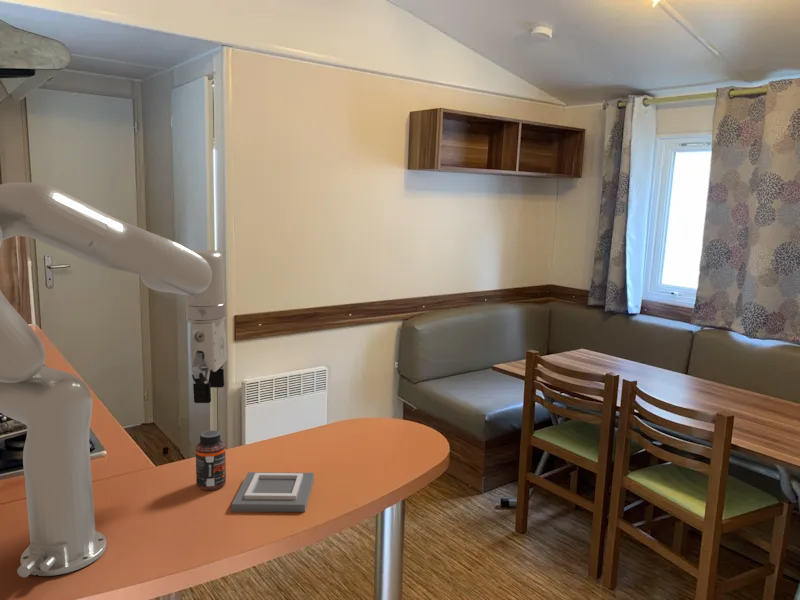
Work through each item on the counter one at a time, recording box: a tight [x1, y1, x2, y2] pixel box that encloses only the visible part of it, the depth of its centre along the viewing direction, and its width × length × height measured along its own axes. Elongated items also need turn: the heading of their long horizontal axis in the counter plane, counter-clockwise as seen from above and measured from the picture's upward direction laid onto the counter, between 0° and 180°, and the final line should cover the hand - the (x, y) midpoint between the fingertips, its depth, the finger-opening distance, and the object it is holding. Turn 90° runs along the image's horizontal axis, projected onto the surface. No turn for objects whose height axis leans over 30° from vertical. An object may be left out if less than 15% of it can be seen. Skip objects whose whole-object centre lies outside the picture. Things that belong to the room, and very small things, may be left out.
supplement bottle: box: [195, 430, 227, 491], centre depth 128 cm, size 6×6×11 cm
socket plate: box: [231, 471, 315, 513], centre depth 125 cm, size 14×14×2 cm
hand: (209, 394), depth 127 cm, fingers open, 9 cm apart
